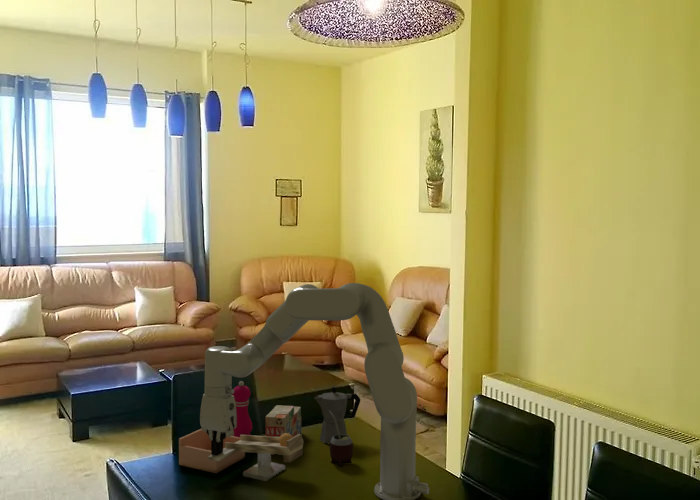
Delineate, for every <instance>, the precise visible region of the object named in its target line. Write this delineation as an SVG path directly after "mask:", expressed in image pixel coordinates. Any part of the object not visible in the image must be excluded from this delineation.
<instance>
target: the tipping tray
mask: <svg viewBox="0 0 700 500" xmlns="http://www.w3.org/2000/svg"><path fill="white" fill-rule="evenodd" d="M279 438H280V437H268V436H266V435H252V434H251V435H240V439H241V440H239V441H237V442H235V443H228V442H226V443H225V448H224V449H223V452H222V453H221V454H219V455H217V456H216V455H210V456H208V460H213V461H220V460H222V459H224V458H226V457H228V456H230V455H232V454H234V453H235V452H237V451H240V452H245V453H255V454H258V453H265V454H271V455H274V454H278V456H282V457H283V462H284V463H292V462H293V461H294V460H297V459H298V458H299V457H301V456H303V452H304V451H303V446H304V439H303V434H302V433H301V434H298V435H296V436H294V437H293V438H291V439H289V440H287V441H286V444H287V447H283V446H281V445H280V443H279Z"/></svg>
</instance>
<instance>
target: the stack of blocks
mask: <svg viewBox="0 0 700 500" xmlns="http://www.w3.org/2000/svg"><path fill="white" fill-rule="evenodd" d="M301 408H302V407H301V406H294V405H280V404H279V405H278V404H277V405H275V406H274V407H273V408H272V409H271V411H269V413H268V414H266V416H265V429H264V431H265V436H268V437H280V436H281V435H282V434H284V433H289V434H290V435H291V436H292V437H294V436H296V435H298V434H300V433H301V434H302V414H301V413H302V412H301V411H302V409H301Z"/></svg>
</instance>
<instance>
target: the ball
mask: <svg viewBox="0 0 700 500" xmlns="http://www.w3.org/2000/svg"><path fill="white" fill-rule="evenodd" d="M291 438H293V437H292V436H291V435H290V434H289V433H284V434H282V435H281V436H280V438H279V443H280V445H281V446H283V447H287V444H286V441H287V440H289V439H291Z"/></svg>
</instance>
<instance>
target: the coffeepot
mask: <svg viewBox="0 0 700 500" xmlns="http://www.w3.org/2000/svg"><path fill="white" fill-rule="evenodd" d="M313 399H314V400H316V402H317V404H318V405H319V407H320V409H321V414H322V416H323V421H322V426H321V431H320V435H319V436H320V437H319V441H320V442H321V441H322V442H321V443H323V442H324V443H323V444H325V443H329V444H330V441H331V439H332V437H333V436H335V435H338V433H337V429H336V425H335V422H334V418H333V417H332V415H331V414H330V412H329V410H330V411H331V412H332V414H333V415H334V416H335V418H336V420H337V426H338V430H339V434H343V435H348V433H347V427H346V421H345V418H344V417H345V416H346V414H347V413H346V411H347V406H348V401H351V400H355V401H354V403H353V408H352V410H351V411H352V412H351V414H350V415H347V416H348V418H349V419H355V417H356V414H357V412H358V410H359V409H358V408H359V406H360V403H361V398H360V397H359V395H357V393H344V392H337V387H336V386H332V387H331V392H324V393H322V394H318V395H316V396H314V398H313ZM329 444H328V445H329Z"/></svg>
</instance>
